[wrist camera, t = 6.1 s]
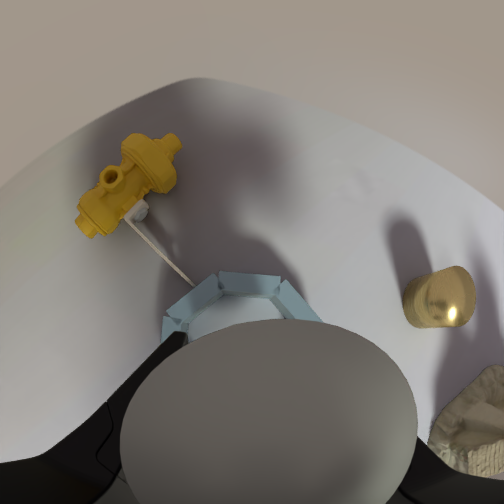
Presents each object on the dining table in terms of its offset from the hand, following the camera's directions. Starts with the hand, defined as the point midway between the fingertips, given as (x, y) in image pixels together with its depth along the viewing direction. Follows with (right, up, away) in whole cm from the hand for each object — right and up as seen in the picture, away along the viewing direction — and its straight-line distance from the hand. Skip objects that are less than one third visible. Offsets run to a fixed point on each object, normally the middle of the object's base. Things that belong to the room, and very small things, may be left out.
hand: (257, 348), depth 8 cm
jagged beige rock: (+25, -17, +9) cm, 32 cm away
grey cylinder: (-1, -3, +6) cm, 7 cm away
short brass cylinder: (+15, -2, +13) cm, 20 cm away
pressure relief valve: (-7, +5, +13) cm, 16 cm away
